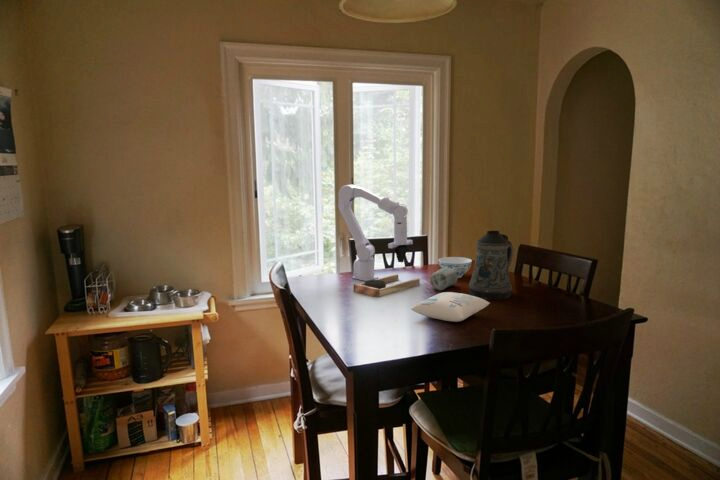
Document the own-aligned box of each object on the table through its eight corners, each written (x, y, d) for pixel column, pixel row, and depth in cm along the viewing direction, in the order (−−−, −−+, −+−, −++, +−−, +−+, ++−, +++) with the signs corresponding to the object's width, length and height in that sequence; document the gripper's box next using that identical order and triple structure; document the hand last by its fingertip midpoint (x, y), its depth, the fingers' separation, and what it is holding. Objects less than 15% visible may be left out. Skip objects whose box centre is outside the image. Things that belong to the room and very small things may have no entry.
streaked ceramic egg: (447, 286, 180) (440, 262, 184) (428, 293, 186) (422, 270, 190) (465, 287, 190) (459, 265, 194) (447, 294, 196) (441, 272, 199)
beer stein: (463, 297, 176) (464, 233, 172) (475, 285, 193) (477, 227, 189) (507, 302, 168) (510, 235, 164) (516, 289, 185) (518, 229, 181)
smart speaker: (384, 288, 192) (384, 279, 191) (386, 294, 183) (386, 284, 183) (363, 289, 192) (363, 279, 191) (364, 294, 183) (364, 285, 182)
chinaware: (472, 280, 201) (472, 263, 200) (437, 279, 204) (438, 263, 203) (470, 273, 216) (471, 257, 215) (438, 272, 219) (439, 256, 218)
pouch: (441, 284, 166) (410, 294, 150) (490, 294, 153) (463, 306, 138) (440, 305, 167) (410, 317, 151) (489, 317, 155) (461, 331, 139)
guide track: (353, 291, 188) (353, 284, 188) (396, 279, 207) (396, 272, 206) (376, 297, 179) (376, 289, 178) (419, 284, 197) (419, 277, 197)
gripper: (396, 234, 194) (396, 265, 196) (417, 231, 204) (417, 260, 206) (384, 233, 199) (384, 263, 201) (405, 229, 209) (405, 258, 211)
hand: (400, 262), depth 204 cm, fingers closed
